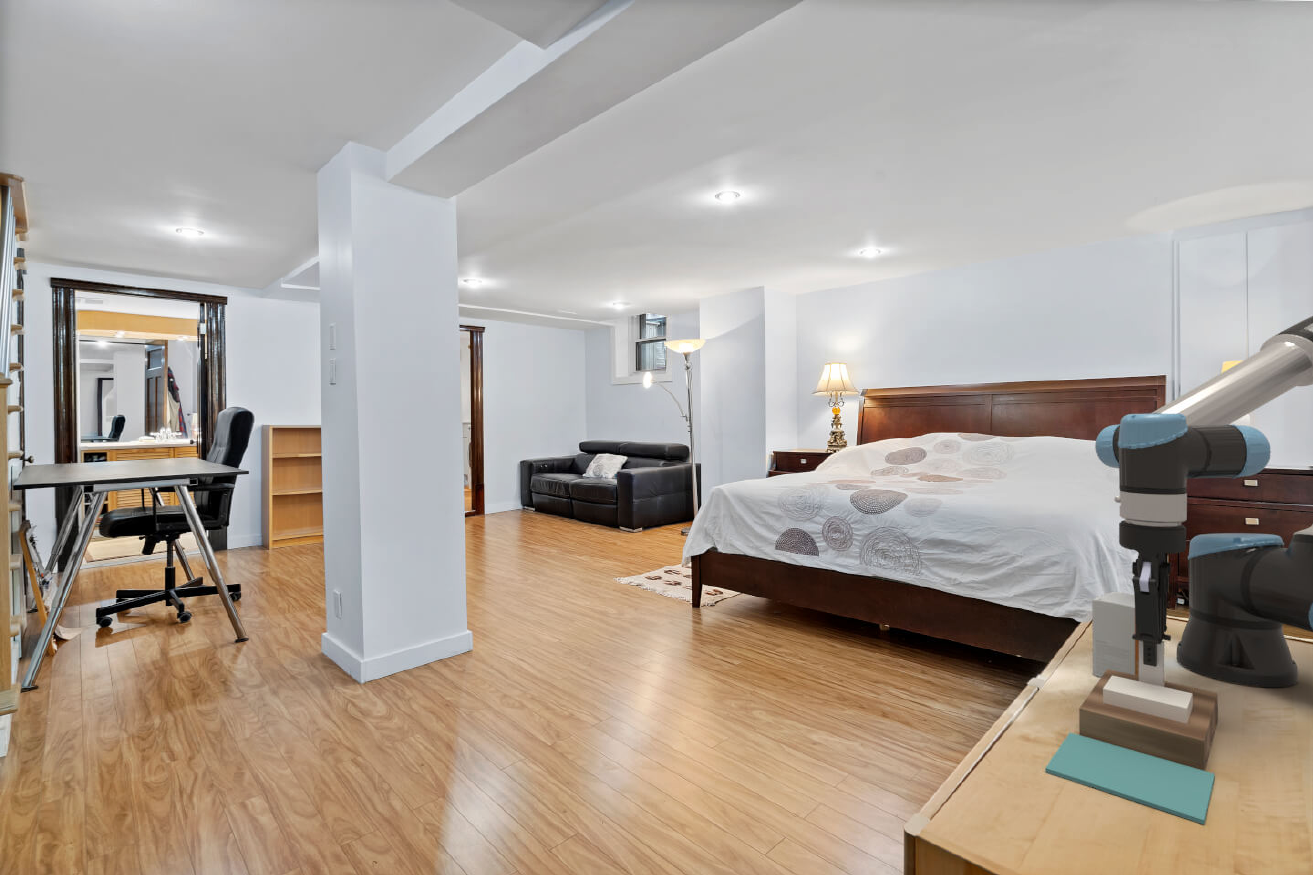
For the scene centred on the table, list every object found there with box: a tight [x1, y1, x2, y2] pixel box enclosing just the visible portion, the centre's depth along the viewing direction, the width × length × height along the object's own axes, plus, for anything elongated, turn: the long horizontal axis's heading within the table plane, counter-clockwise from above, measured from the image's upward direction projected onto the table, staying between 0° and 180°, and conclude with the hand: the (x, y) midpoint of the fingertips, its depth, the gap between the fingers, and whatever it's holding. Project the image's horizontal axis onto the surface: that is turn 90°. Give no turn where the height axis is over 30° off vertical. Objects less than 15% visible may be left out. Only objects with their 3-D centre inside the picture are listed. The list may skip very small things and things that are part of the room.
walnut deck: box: [1078, 669, 1219, 771], centre depth 88 cm, size 18×13×4 cm
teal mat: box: [1044, 732, 1216, 825], centre depth 78 cm, size 12×15×1 cm
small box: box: [1091, 590, 1139, 678], centre depth 106 cm, size 8×6×13 cm
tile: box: [1103, 676, 1193, 724], centre depth 87 cm, size 6×9×2 cm, turn 44°
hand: (1151, 685), depth 91 cm, fingers closed
